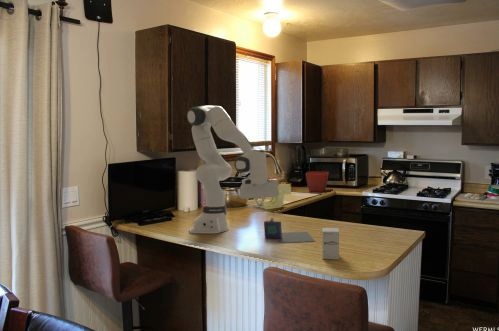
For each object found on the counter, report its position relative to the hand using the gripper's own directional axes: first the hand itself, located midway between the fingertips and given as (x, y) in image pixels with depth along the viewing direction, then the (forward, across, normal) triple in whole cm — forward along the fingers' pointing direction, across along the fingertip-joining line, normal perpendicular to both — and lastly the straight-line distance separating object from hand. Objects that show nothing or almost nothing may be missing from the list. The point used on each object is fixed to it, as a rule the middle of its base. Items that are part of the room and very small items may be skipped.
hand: (259, 206), depth 227 cm
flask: (+18, -6, 0) cm, 19 cm away
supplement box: (+19, -28, +36) cm, 49 cm away
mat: (+18, -18, 0) cm, 25 cm away
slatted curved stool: (+17, -16, -91) cm, 94 cm away
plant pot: (+17, -66, -157) cm, 171 cm away
